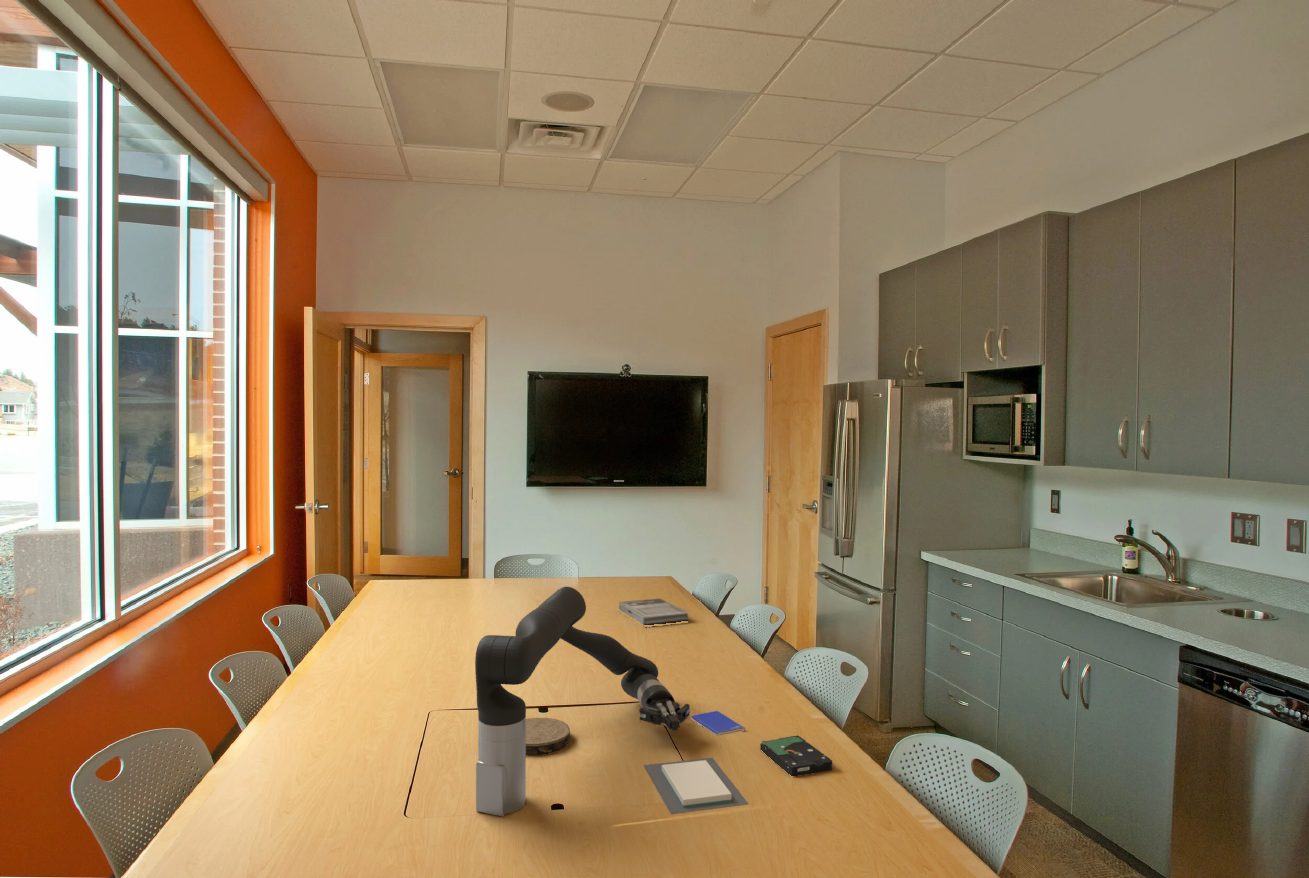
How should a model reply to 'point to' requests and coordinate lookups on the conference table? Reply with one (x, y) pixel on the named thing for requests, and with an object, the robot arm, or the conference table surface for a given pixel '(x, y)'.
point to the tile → (696, 783)
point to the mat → (671, 798)
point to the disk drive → (796, 756)
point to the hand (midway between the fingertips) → (675, 726)
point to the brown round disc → (546, 736)
